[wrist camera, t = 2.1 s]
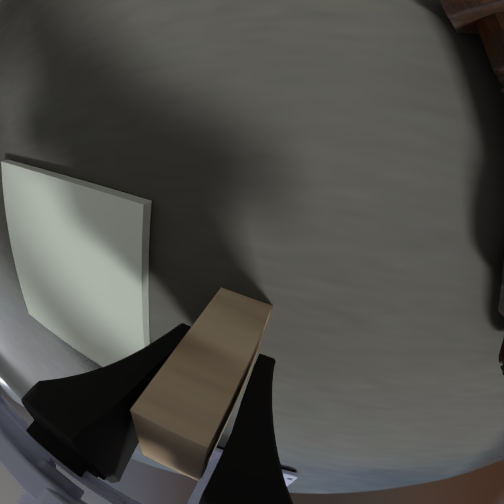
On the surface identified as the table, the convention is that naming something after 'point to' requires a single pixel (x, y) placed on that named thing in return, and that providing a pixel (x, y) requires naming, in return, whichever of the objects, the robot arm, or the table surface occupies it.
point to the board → (80, 259)
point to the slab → (200, 384)
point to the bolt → (498, 50)
